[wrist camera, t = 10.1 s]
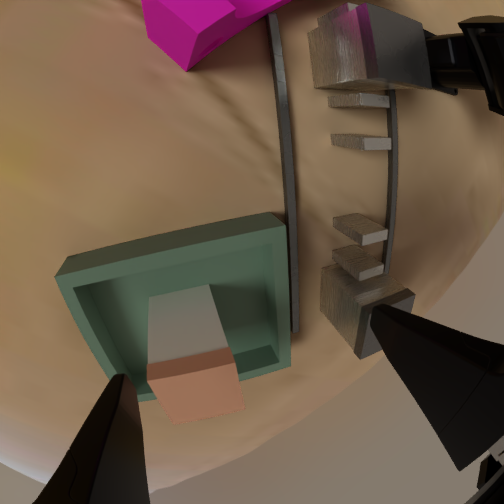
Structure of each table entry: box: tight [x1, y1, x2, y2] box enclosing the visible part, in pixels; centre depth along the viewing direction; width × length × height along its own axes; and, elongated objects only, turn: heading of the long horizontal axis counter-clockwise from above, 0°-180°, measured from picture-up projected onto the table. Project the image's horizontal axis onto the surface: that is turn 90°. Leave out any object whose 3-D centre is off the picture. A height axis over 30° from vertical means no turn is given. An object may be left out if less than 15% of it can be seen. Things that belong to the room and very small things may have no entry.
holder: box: [265, 2, 432, 360], centre depth 18 cm, size 11×26×7 cm, turn 6°
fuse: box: [147, 284, 245, 425], centre depth 17 cm, size 5×5×8 cm
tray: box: [55, 212, 291, 402], centre depth 20 cm, size 15×13×3 cm
